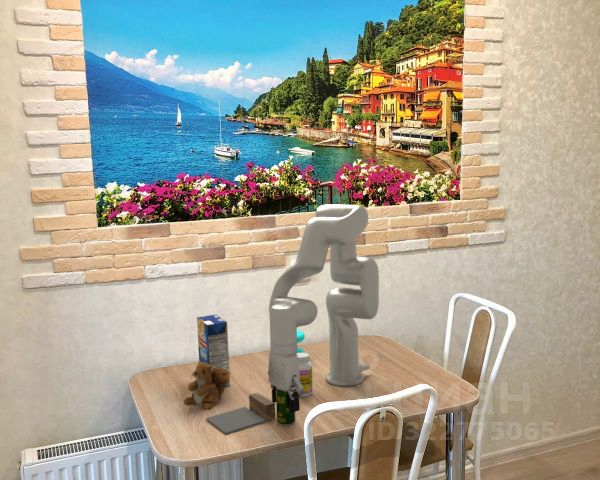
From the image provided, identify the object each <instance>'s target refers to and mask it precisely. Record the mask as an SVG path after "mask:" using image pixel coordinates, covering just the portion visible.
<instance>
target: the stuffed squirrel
mask: <svg viewBox="0 0 600 480" xmlns="http://www.w3.org/2000/svg"><path fill="white" fill-rule="evenodd" d="M197 363H198V364H197V365H196V367H195V370H194V371H193V372H192V373H191V374H190V379H191V380H192V379H193V378H194V379H195V380H194V381H192V382H191V383H189V385H188V390H189V392H192V394H191V396H188V397H186V398H184V400H183V404H185V405H189V404H197V405H200V406H202V407H203V408H204V409H205V410H210V409H212V408H213V407H216V405H217V404H218V402H219V401H218V400H219V399H220V398H221V397H222V396H223V394H224V392H225V388H226V387H225V386H226V383H227V382H228V381H230V382H231V376H229V375H231V374H232V372H230V371H229V372H227V370H226V369H223V368H216V369H214V368H215V366H214V365H213V366H211V365H209V364H207V363H203V362H201V361H199V360H198V362H197ZM229 377H230V378H229ZM229 379H230V380H229Z"/></svg>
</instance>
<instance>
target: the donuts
mask: <svg viewBox="0 0 600 480" xmlns="http://www.w3.org/2000/svg"><path fill="white" fill-rule="evenodd" d="M305 338H306V336H305V333H304V332H303V331H302V330H298V329H297V344H299V343H302V342H304V340H305ZM297 353H306V351H304V350H303V348H301V347H298V346H297Z"/></svg>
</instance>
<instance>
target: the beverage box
mask: <svg viewBox="0 0 600 480" xmlns="http://www.w3.org/2000/svg"><path fill="white" fill-rule="evenodd" d="M196 326H197V327H196V328H197V342H198V343H197V347H198V362H199V361H201V362H203V363H207V364H209V365H211V366H213V365H214V366H215V368H214V369H216V368H223V369H226V370H227V372H230V357H229V335H228V321H226V320H225V319H223V318H222V317H220V316H219V315H218V314H209V315H205V316H197V317H196ZM230 375H231V374H230ZM230 375H229V376H230ZM229 378H230V379H229V380H230V381H228V382H227V383H226V386H225V387H224V388H226V387H230V386H231V376H230V377H229Z"/></svg>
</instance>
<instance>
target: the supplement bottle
mask: <svg viewBox="0 0 600 480" xmlns="http://www.w3.org/2000/svg"><path fill="white" fill-rule="evenodd" d="M297 357H298V363H299V373H300V383H301V384H302V386H303V391H302V395H301V397H300V398H305V397H309V396H311V395H312V394H313V364H312V362H311V361H309V359H310V355H309V353H307V352H305V353H297Z"/></svg>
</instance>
